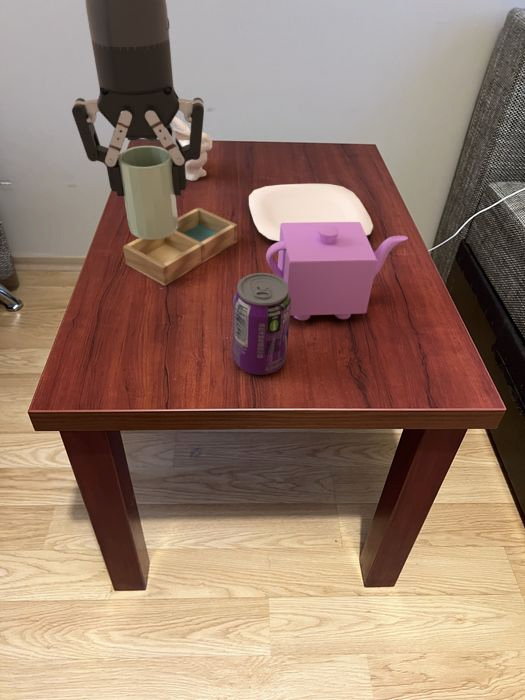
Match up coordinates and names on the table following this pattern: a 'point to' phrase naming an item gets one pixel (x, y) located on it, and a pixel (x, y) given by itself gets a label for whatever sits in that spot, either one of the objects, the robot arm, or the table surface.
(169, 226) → the cup
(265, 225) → the plate
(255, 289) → the beverage can
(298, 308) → the teapot
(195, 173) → the rabbit
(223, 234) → the holder
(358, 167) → the table surface
